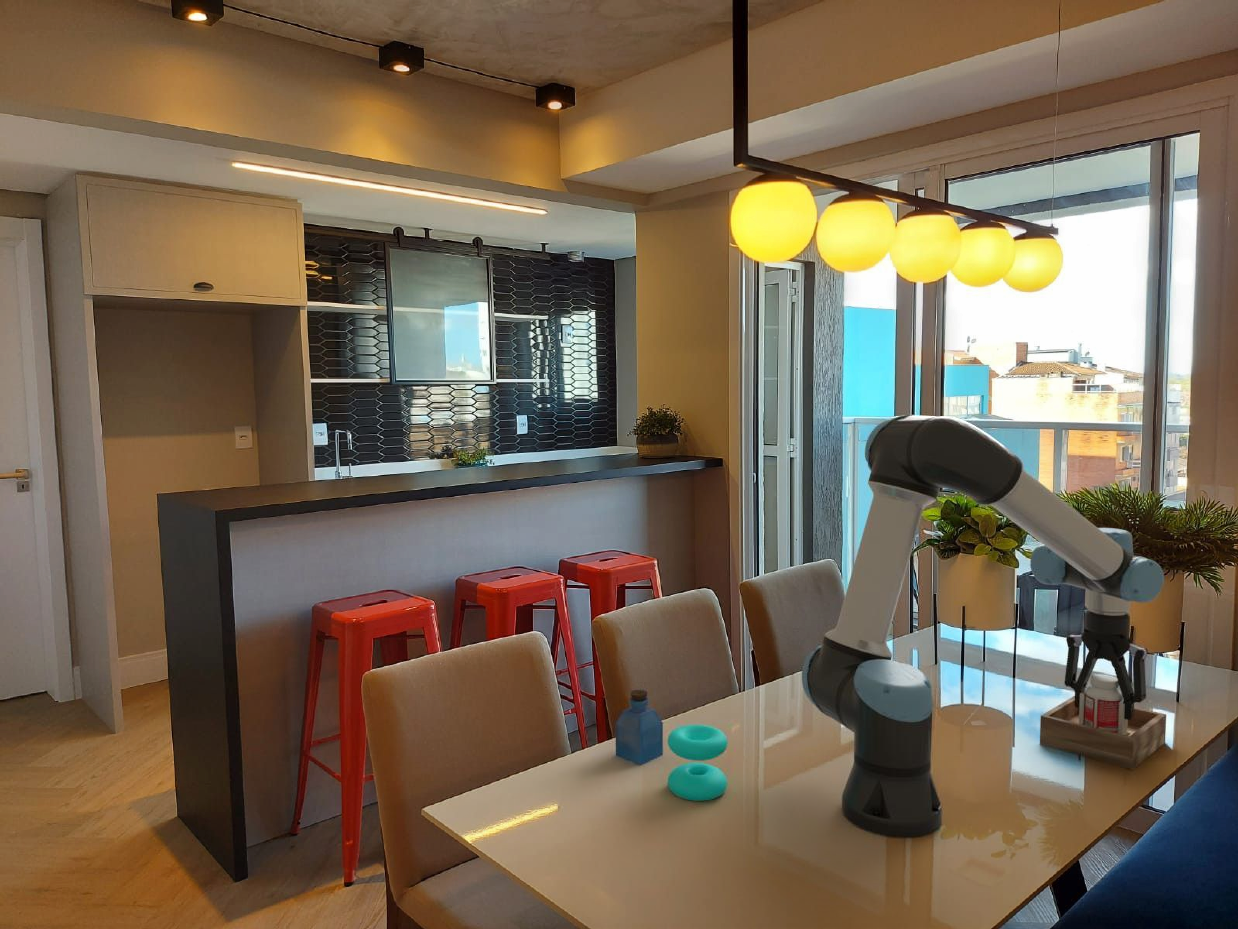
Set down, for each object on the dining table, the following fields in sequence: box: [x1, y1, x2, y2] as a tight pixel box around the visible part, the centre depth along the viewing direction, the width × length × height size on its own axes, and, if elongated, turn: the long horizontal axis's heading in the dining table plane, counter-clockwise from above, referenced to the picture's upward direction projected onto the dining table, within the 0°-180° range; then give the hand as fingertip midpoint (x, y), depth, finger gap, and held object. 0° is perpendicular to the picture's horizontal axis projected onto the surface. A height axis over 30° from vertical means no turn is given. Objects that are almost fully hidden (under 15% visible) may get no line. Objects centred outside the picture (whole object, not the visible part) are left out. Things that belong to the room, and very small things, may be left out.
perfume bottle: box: [615, 689, 664, 766], centre depth 164 cm, size 6×6×12 cm
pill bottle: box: [1085, 673, 1124, 733], centre depth 168 cm, size 6×6×11 cm
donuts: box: [667, 724, 728, 802], centre depth 149 cm, size 10×10×10 cm
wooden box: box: [1039, 695, 1167, 770], centre depth 168 cm, size 18×16×6 cm
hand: (1102, 729), depth 168 cm, fingers closed on pill bottle, 6 cm apart
